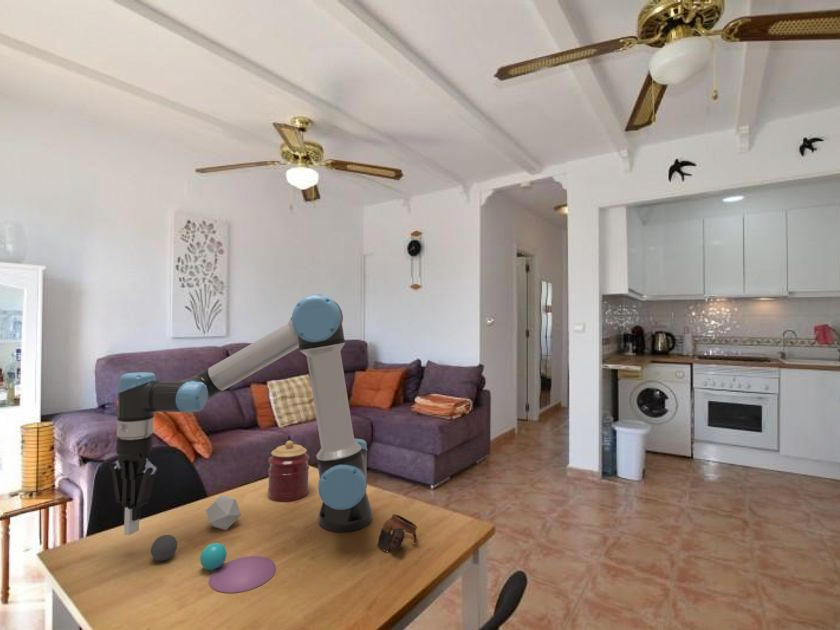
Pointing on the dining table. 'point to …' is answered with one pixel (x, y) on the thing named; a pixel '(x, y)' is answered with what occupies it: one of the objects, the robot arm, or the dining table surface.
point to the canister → (288, 472)
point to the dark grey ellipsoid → (164, 547)
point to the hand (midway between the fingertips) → (131, 532)
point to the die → (223, 512)
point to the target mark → (242, 574)
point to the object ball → (213, 556)
